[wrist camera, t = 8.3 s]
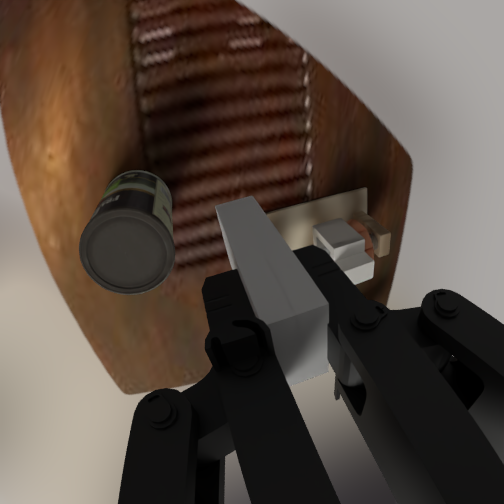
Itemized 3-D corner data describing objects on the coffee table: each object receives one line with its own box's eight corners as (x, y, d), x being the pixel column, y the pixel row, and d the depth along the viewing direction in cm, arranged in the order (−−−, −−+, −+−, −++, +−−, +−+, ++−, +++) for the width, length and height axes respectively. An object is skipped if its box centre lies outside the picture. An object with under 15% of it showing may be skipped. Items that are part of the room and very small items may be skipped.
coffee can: (89, 210, 39) (62, 262, 27) (131, 155, 37) (114, 187, 25) (143, 249, 44) (138, 310, 33) (187, 199, 42) (195, 248, 31)
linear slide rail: (254, 280, 53) (269, 315, 45) (240, 219, 46) (256, 249, 39) (364, 245, 55) (391, 271, 48) (365, 187, 49) (397, 207, 41)
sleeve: (315, 263, 50) (342, 300, 42) (312, 225, 46) (343, 259, 38) (341, 254, 50) (371, 288, 42) (340, 217, 46) (375, 248, 38)
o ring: (340, 255, 51) (364, 283, 44) (339, 213, 46) (367, 237, 40) (349, 252, 51) (374, 279, 44) (348, 210, 47) (377, 234, 40)
